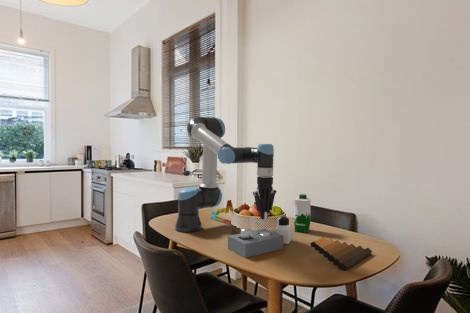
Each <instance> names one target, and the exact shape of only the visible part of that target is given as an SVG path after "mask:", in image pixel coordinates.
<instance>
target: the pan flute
mask: <svg viewBox="0 0 470 313" xmlns="http://www.w3.org/2000/svg"><path fill="white" fill-rule="evenodd" d="M310 246H311V247H312V248H314V250H315V251H318V254H320V255H323V257H324V258H327V260H328V261H329V262H332V263H333V264H332V265H334V266H335V267H336V266H337V267H338V270H341V271H344V272H347V271H348V270H349V269H350V268H353V267H354V266H355V265H357V264H359V263H360V262H361V261H363V260H364V259H366V258H368V257H369V256H371V255H372V253H373V250H371V249H370V248H369V247H366V248H364V247H362V245H358V246H355V244H353V243H351V244H348V243H347V242H345V241H344V242H342V243H341V242H340V241H339V239H338V240H336V241H334V240H333V239H332V238H329V239H327V238H326V236H323V237H321V238H318V239H316V240H314V241H311V242H310Z"/></svg>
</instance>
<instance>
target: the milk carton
mask: <svg viewBox="0 0 470 313" xmlns="http://www.w3.org/2000/svg"><path fill="white" fill-rule="evenodd" d="M293 202H294V203H293V205H294V206H293V207H294V208H293V220H294V221H293V224H294V226H293V227H294V232H297V233H308V232H309V230H310V227H311V226H310V225H311V198H309V197H307V194H304V193H303V194H302V193H301V194H299V197H296V198H295V199H294V200H293Z"/></svg>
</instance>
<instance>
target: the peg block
mask: <svg viewBox="0 0 470 313" xmlns="http://www.w3.org/2000/svg"><path fill="white" fill-rule="evenodd" d="M261 232H268V233H270V235H268V236H262V235H260V233H261ZM283 237H284V236H283V235H280V234H278V233H275V231H271V230H269V229H266V228H262V229H256V230H252V239H250V240H242V239H241V232H240V233H236V234H231V235H227V249H228V250H230V251H231V252H234V253H235V254H237V255H238V256H241V257H242V258H245V259H247V258H252V257H255V256H259V255H262V254H267V253H270V252H274V251H277V250H283V249H284V243H283Z"/></svg>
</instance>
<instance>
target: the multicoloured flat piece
mask: <svg viewBox="0 0 470 313" xmlns="http://www.w3.org/2000/svg"><path fill="white" fill-rule="evenodd" d="M226 202H227V203H226V207H224V208H217V211H216V212H215V211H210V213H211V214H212V215H210V220H213V221H216V222H220V223H222V224H225V225H229V226H232V224H231V221H232V220H230V219H225V218H223V217H220V216H219V215H220V214H222V213H224V214H228V213H229V212H231V213H232V214H234V213H233V211H235V210H234V207H233V203H232V202H233V201H232V200H231V199H228V200H226ZM232 227H233V226H232Z"/></svg>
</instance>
